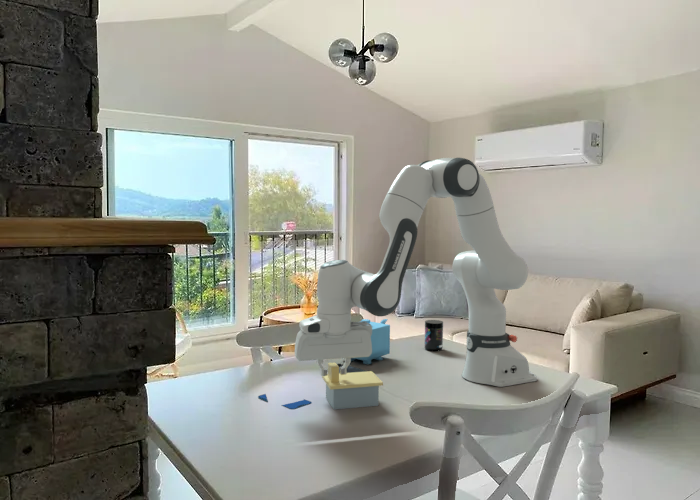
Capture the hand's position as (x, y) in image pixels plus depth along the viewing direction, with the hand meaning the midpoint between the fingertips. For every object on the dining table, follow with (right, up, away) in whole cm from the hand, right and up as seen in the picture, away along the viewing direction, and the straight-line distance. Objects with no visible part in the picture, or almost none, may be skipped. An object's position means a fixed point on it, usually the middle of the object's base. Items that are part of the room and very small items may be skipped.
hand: (333, 374), depth 140 cm
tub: (+5, -8, +2) cm, 10 cm away
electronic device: (+5, -7, +23) cm, 24 cm away
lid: (+5, -2, +1) cm, 5 cm away
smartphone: (-13, -8, +3) cm, 16 cm away
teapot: (+11, -5, +46) cm, 47 cm away
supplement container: (+35, -4, +58) cm, 68 cm away
